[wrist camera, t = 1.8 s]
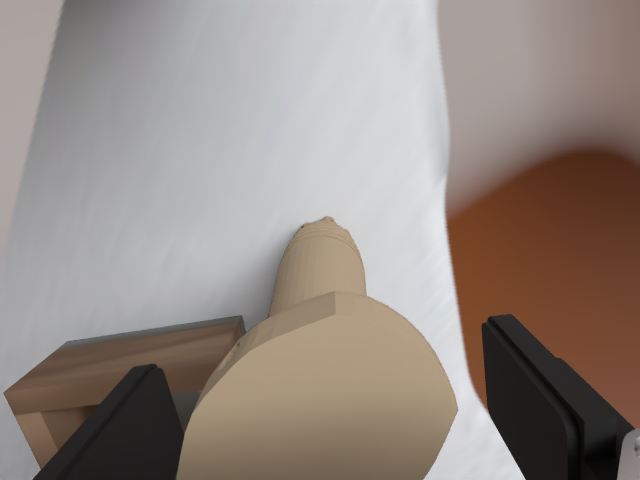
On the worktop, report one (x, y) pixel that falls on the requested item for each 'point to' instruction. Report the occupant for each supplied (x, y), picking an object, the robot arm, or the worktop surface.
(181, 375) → the socket
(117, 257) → the worktop surface
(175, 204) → the worktop surface
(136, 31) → the worktop surface
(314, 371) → the handle
